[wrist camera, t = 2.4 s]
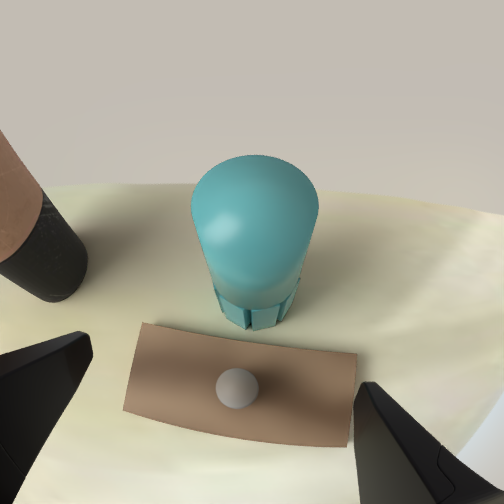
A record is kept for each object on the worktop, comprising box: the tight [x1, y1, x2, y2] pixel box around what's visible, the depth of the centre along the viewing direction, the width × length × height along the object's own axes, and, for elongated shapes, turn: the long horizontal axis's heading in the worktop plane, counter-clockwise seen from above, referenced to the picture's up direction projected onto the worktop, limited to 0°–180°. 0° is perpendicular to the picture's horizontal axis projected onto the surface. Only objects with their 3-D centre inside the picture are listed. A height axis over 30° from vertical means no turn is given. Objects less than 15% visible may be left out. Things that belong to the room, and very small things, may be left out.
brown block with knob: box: [123, 322, 357, 447], centre depth 18 cm, size 7×16×4 cm, turn 81°
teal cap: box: [191, 155, 319, 331], centre depth 19 cm, size 6×6×12 cm
